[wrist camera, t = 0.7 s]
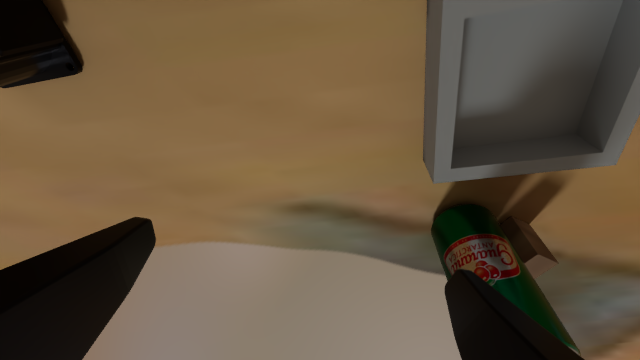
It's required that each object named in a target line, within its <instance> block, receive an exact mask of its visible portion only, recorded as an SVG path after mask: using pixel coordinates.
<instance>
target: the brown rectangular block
mask: <svg viewBox="0 0 640 360" xmlns="http://www.w3.org/2000/svg"><path fill="white" fill-rule="evenodd" d="M500 226H501V227H502V229H503V230H504V232H505V234H506V235H507V237H508V238H509V240H510V242H511V243H512V245H513V246H514V248H515V249H516V251H517V253H518V254H519V256H520V257H521V259H522V261H523V262H524V264H525V265H526V267H527V268H528V270H529V272H530V273H531V275H532V276H533V278H534V279H535V278H537V277H538V276H540V275H541V274H543V273H544V272H546V271H548V270H549V269H551V268H552V267H554V266H555V265H557V264H559V263H558V262H557V260H556V259H555V258H554V256H553V255H552V254H551V252H550V251H549V250H548V248H547V247H546V246H545V244H544V243H543V242H542V240H541V239H540V238H539V236H538V235H537V234H536V232H535V231H534V230H533V228H532V227H531V226H530V225H529V224H527V223H525V222H523V221H521V220H519V219H517V218H514V217H512V216H511V217H509V218H508V219H507V220H506V221H505V222H503V223H502V224H501V225H500Z"/></svg>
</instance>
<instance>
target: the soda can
mask: <svg viewBox="0 0 640 360" xmlns="http://www.w3.org/2000/svg"><path fill="white" fill-rule="evenodd" d="M431 234H432V237H433V240H434V243H435V246H436V249H437V252H438V255H439V258H440V261H441V264H442V267H443V269H444V272H445V275H446V278H447V281H448V280H449V279H450V278H451V276H452V275H453V274H454V272H455V271H456V270H457V269H465V270H470V271H472V272H474V273H475V274H477V275H478V276H479V277H480V278H482V279H483V280H484V281H485V282H487V283H488V284H489V285H490V286H492V287H493V288H494V289H496V290H497V291H498V292H499V293H501V294H502V295H503V296H504V297H506V298H507V299H508V300H510V301H511V302H512V303H513V304H515V305H516V306H517V307H518V308H520V309H521V310H522V311H523V312H525V313H526V314H527V315H529V316H530V317H531V318H532V319H534V320H535V321H536V322H537V323H539V324H540V325H541V326H542V327H544V328H545V329H546V330H548V331H549V332H550V333H551V334H553V335H554V336H555V337H556V338H558V339H559V340H560V341H562V342H563V343H564V344H565V345H567V346H568V347H569V348H570V349H572V350H573V351H574V352H575V353H577V354H578V355H579V356H581V353H580V351H579V349H578V348H577V346H576V345H575V343H574V341H573V340H572V338H571V337H570V335H569V333H568V332H567V330H566V329H565V327H564V326H563V324H562V322H561V321H560V319H559V318H558V316H557V314H556V313H555V311H554V310H553V308H552V307H551V305H550V303H549V302H548V300H547V299H546V297H545V295H544V294H543V292H542V291H541V289H540V288H539V286H538V284H537V283H536V281H535V280H534V278H533V276H532V275H531V273H530V272H529V270H528V268H527V267H526V265H525V264H524V262H523V261H522V259H521V257H520V256H519V254H518V253H517V251H516V249H515V248H514V246H513V245H512V243H511V242H510V240H509V238H508V237H507V235H506V234H505V232H504V230H503V229H502V227H501V226H500V224H499V223H498V221H497V219H496V218H495V216H494V215H493V213H492V212H491V211H490V210H488V209H487V208H485V207H482V206H479V205H473V204H461V205H456V206H453V207H450V208H448V209H446V210H445V211H443V212H442V213H441V214H440V215H439V216H438V217H437V218H436V220H435V221H434V223H433V225H432V228H431Z"/></svg>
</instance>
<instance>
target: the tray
mask: <svg viewBox="0 0 640 360" xmlns="http://www.w3.org/2000/svg"><path fill="white" fill-rule="evenodd" d="M639 115H640V0H427V25H426V64H425V104H424V143H423V161H424V163H425V165H426V168H427V170H428V172H429V174H430V177H431V179H432V181H433V184H434V183H443V182H453V181H463V180H473V179H483V178H492V177H502V176H512V175H522V174H531V173H541V172H551V171H561V170H571V169H580V168H590V167H600V166H610V165H616V163H617V161H618V159H619V157H620V155H621V153H622V151H623V148H624V146H625V144H626V142H627V140H628V138H629V136H630V134H631V132H632V129H633V127H634V125H635V123H636V121H637V119H638V117H639Z"/></svg>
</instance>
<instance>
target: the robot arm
mask: <svg viewBox="0 0 640 360" xmlns="http://www.w3.org/2000/svg"><path fill="white" fill-rule="evenodd" d="M71 64H72V65H73V67H74V68H73V67H72V66H71ZM82 70H83V68H82V65H81V63H80V61H79V60H78V58H77V57H76V55H75V53H74V52H73V50H72V48H71V47H70V45H69V44H68V42H67V40H66V39H65V37H64V36H63V34H62V32H61V31H60V29H59V28H58V26H57V24H56V23H55V21H54V20H53V18H52V16H51V15H50V13H49V12H48V10H47V8H46V7H45V5H44V3H43V2H42V0H0V87H2V88H9V87H15V86H20V85H25V84H30V83H35V82H40V81H45V80H50V79H55V78H60V77H66V76H71V75H75V74H78V73H80V72H82ZM155 242H156V237H155V233H154V229H153V224H152V221H151V220H150V219H147V218H141V217H134V218H131V219H128V220H126V221H123V222H121V223H118V224H116V225H113V226H111V227H108V228H106V229H103V230H100V231H98V232H95V233H93V234H90V235H88V236H85V237H83V238H80V239H78V240H75V241H73V242H70V243H68V244H65V245H62V246H60V247H57V248H55V249H52V250H50V251H47V252H45V253H42V254H40V255H37V256H35V257H32V258H30V259H27V260H24V261H22V262H19V263H17V264H14V265H12V266H9V267H7V268H4V269H2V270H0V360H82V359H83V358H84V356H85V355H86V353H87V352H88V351H89V349H90V348H91V346H92V345H93V343H94V342H95V341H96V339H97V338H98V336H99V335H100V333H101V332H102V330H103V329H104V327H105V326H106V325H107V323H108V322H109V320H110V319H111V318H112V316H113V315H114V314H115V312H116V311H117V309H118V308H119V306H120V305H121V303H122V302H123V301H124V299H125V298H126V296H127V295H128V293H129V292H130V290H131V288H132V287H133V285H134V283H135V281H136V279H137V278H138V276H139V274H140V272H141V270H142V269H143V267H144V265H145V263H146V261H147V259H148V258H149V256H150V254H151V252H152V250H153V248H154V246H155ZM445 296H446V300H447V305H448V310H449V314H450V318H451V323H452V328H453V332H454V336H455V340H456V343H457V346H458V349H459V352H460V355H461V358H462V360H584V359H583V358H582V357H581V356H579V355H578V354H577V353H575V352H574V351H573V350H572V349H570V348H569V347H568V346H567V345H565V344H564V343H563V342H562V341H560V340H559V339H558V338H556V337H555V336H554V335H553V334H551V333H550V332H549V331H548V330H546V329H545V328H544V327H542V326H541V325H540V324H539V323H537V322H536V321H535V320H534V319H532V318H531V317H530V316H529V315H527V314H526V313H525V312H523V311H522V310H521V309H520V308H518V307H517V306H516V305H515V304H513V303H512V302H511V301H510V300H508V299H507V298H506V297H504V296H503V295H502V294H501V293H499V292H498V291H497V290H496V289H494V288H493V287H492V286H490V285H489V284H488V283H487V282H485V281H484V280H483V279H482V278H480V277H479V276H478V275H477V274H475V273H474V272H472V271H470V270H465V269H457V270H456V271H455V272H454V274H453V275H452V276H451V278H450V279H449V280H448V282H447V283H446V285H445Z"/></svg>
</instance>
